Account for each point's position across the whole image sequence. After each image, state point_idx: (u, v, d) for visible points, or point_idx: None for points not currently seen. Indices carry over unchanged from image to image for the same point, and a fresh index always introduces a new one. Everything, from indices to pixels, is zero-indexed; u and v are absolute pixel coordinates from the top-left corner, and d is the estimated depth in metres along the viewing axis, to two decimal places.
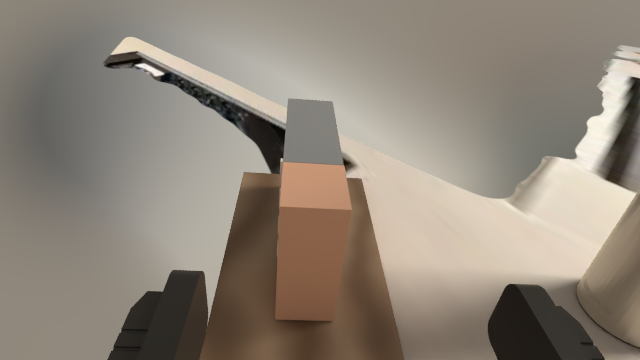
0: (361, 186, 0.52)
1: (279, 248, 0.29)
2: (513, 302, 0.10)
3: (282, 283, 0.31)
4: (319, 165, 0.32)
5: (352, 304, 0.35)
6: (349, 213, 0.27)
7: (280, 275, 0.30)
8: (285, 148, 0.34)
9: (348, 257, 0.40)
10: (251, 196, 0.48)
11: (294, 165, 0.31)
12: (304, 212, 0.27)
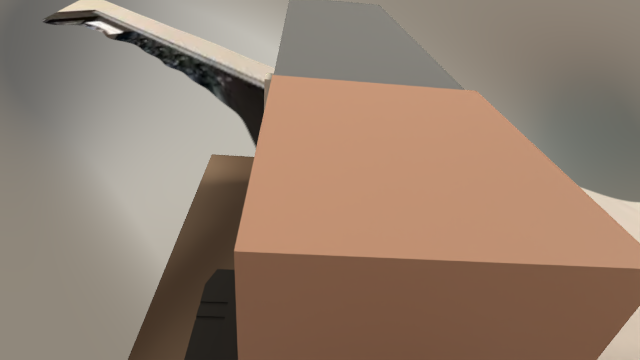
0: None
1: None
2: None
3: None
4: (395, 88, 0.09)
5: None
6: None
7: None
8: (281, 53, 0.12)
9: None
10: (220, 196, 0.25)
11: (311, 84, 0.09)
12: (388, 286, 0.05)
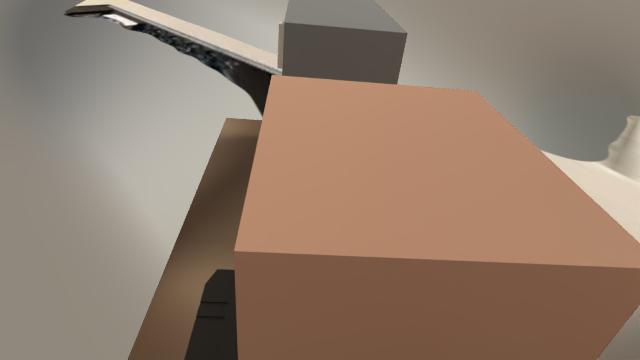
0: None
1: None
2: None
3: None
4: (395, 88, 0.09)
5: None
6: None
7: None
8: (288, 12, 0.17)
9: None
10: (235, 147, 0.31)
11: (311, 84, 0.09)
12: (388, 286, 0.05)
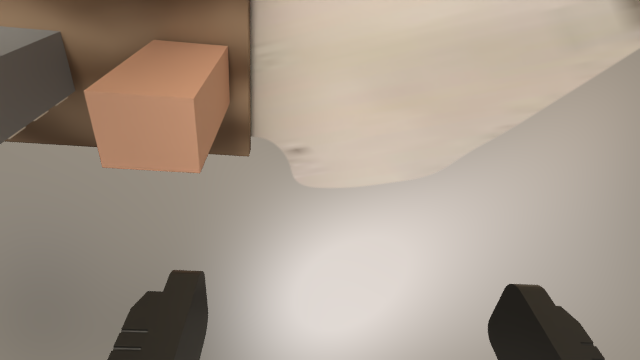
0: None
1: (212, 143, 0.28)
2: (513, 302, 0.10)
3: (220, 117, 0.31)
4: (96, 125, 0.23)
5: (112, 11, 0.31)
6: (194, 98, 0.23)
7: (218, 125, 0.30)
8: None
9: (31, 0, 0.30)
10: None
11: (107, 155, 0.24)
12: (199, 145, 0.24)
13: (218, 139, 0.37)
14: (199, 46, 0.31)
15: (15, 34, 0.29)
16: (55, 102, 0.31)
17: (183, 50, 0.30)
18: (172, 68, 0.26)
